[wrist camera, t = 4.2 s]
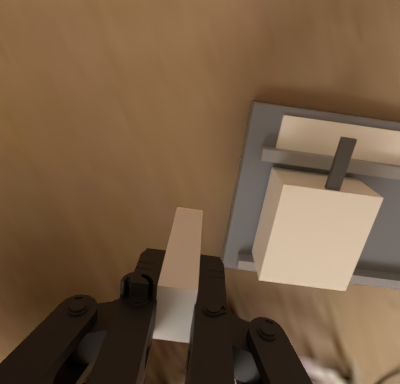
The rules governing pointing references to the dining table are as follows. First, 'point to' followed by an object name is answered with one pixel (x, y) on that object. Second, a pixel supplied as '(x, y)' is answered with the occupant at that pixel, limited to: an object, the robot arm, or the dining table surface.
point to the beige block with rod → (314, 224)
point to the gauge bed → (321, 163)
